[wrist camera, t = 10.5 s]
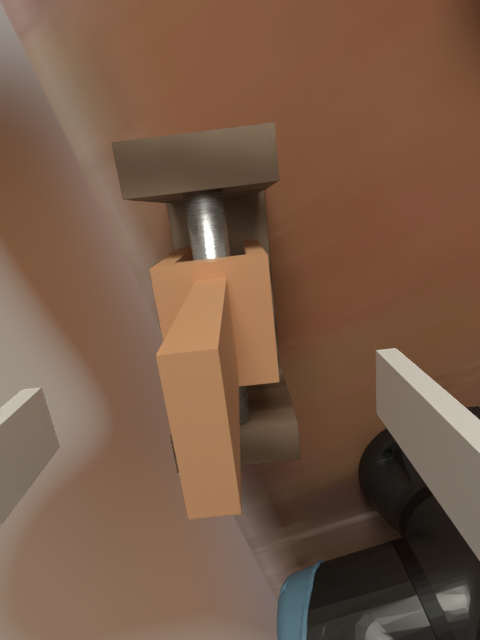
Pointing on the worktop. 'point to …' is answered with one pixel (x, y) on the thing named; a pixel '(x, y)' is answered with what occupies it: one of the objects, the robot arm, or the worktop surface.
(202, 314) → the tan joined planks
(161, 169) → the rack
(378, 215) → the worktop surface
